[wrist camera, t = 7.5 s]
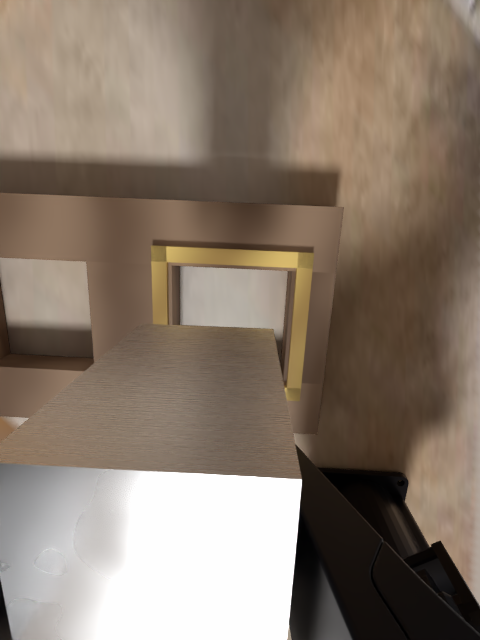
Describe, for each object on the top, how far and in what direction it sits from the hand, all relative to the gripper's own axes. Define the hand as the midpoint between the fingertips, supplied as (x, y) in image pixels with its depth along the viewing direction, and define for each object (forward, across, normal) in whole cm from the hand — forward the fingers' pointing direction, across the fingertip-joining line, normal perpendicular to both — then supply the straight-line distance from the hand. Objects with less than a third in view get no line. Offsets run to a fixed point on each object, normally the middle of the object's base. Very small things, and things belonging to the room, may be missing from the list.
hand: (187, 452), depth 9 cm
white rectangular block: (+4, 0, 0) cm, 4 cm away
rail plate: (+13, +5, 0) cm, 14 cm away
